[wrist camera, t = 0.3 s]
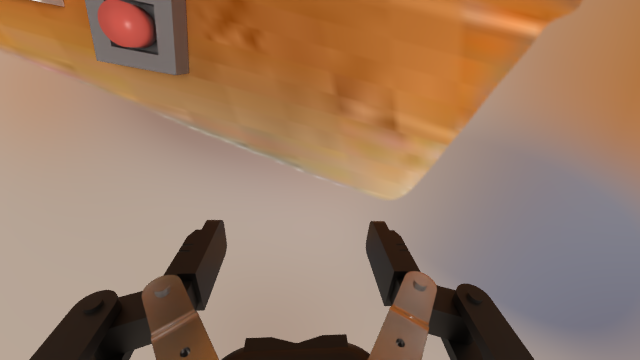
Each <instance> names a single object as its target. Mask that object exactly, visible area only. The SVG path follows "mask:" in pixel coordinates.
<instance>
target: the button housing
mask: <svg viewBox="0 0 640 360" xmlns="http://www.w3.org/2000/svg"><path fill="white" fill-rule="evenodd" d="M104 1H106V0H85V3H86V8H87V13H88V18H89V23H90V28H91V33H92V38H93V43H94V48H95V53H96V58H97V61H102V62H107V63H113V64H118V65H124V66H129V67H135V68H140V69H145V70H151V71H156V72H162V73H167V74H173V75H181V74H187V73H189V62H188V40H187V19H186V0H120V1H123V2H127V3H130V4H133V5H136V6H139V7H141V8H143V9H144V10H145V11H146V12H148V13H149V15H150V16H151V17H152V19H153V20H154V22H155V25H156V34H157V38H156V40H155V42H154V43H153V45H151V46H150V47H147V48H135V47H123V46H120V45H118V44H116V43H114V42H113V41H111V40H110V39H109V38H108V37H107V36H106V35H105V34H104V32H103V31H102V29H101V27H100V25H99V21H98V9H99V7H100V5H101V4H102V3H103V2H104Z"/></svg>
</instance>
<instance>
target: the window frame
mask: <svg viewBox="0 0 640 360" xmlns="http://www.w3.org/2000/svg"><path fill="white" fill-rule="evenodd" d="M34 1H38V2H43V3H48V4H53V5H58V6H62V7H65V6H64V2H63V0H34Z"/></svg>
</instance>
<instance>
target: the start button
mask: <svg viewBox="0 0 640 360" xmlns="http://www.w3.org/2000/svg"><path fill="white" fill-rule="evenodd" d="M98 21H99V25H100V27H101V29H102V31H103V32H104V34H105V35H106V36H107V37H108V38H109V39H110V40H111V41H113V42H114V43H116V44H118V45H120V46H123V47H135V48H147V47H150V46H151V45H153V43H154V42H155V40H156V38H157V34H156V25H155V22H154V20H153V19H152V17H151V16H150V15H149V13H148V12H146V11H145V10H144V9H143V8H141V7H139V6H136V5H133V4H130V3H127V2H123V1H120V0H106V1H104V2H103V3H102V4H101V5H100V7H99V9H98Z"/></svg>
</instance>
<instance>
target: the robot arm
mask: <svg viewBox="0 0 640 360" xmlns="http://www.w3.org/2000/svg"><path fill="white" fill-rule="evenodd" d="M226 248H227V242H226V235H225V228H224V222H223V221H222V220H207V221H206V223H205V225H204V226H203V228H202V230H195V231H194V232H193V233H191V234H190V235H189V236H188V237H187V238H186V240H185V242H184V243H183V246H181V248H180V250H179V252H178V253H177V255H176V256H175V258H174V259H173V261H172V262H171V264H170V266H169V267H168V269H167V271H166V272H165V274H164V276H161V277H159V278H157V279H155V280H153V281H152V282H150V283H149V284H148V285H147V286H146V287H145V288H144V290H143V291H141V292H137V293H134V294H130V295H126V296H122V297H118V296H117V294H116V293H115V292H114V291H111V290H103V291H99V292H95V293H93V294H90V295H89V296H86V297H85V298H83V299H82V300H80V301H79V302H78V303H77V304H76V305H75V306H74V307H73V308H72V309H71V310H70V311H69V313H68V314H67V315H66V316H65V318H64V319H63V320H62V321H61V322H60V323H59V325H58V326H57V327H56V328H55V329H54V331H53V332H52V333H51V334H50V335H49V337H48V338H47V339H46V340H45V341H44V343H43V344H42V345H41V346H40V348H39V349H38V350H37V351H36V352H35V354H34V355H33V356H32V357H31V358H30V360H129V359H130V357H131V355H132V353H133V351H134V350H135V349H137V348H140V347H143V346H146V345H149V344H152V345H153V349H154V353H155V357H156V360H219V359H218V356H217V354H216V352H215V350H214V347H213V345H212V343H211V341H210V339H209V337H208V334H207V332H206V330H205V328H204V326H203V323H202V321H201V319H200V317H199V315H198V313H197V310H205V307H206V305H207V302H208V299H209V297H210V294H211V291H212V289H213V286H214V283H215V281H216V278H217V275H218V273H219V270H220V267H221V265H222V262H223V259H224V257H225V254H226ZM366 252H367V256H368V259H369V261H370V264H371V268H372V271H373V274H374V276H375V279H376V282H377V285H378V288H379V291H380V294H381V297H382V300H383V303H384V306H391V307H390V309H389V312H388V314H387V316H386V319H385V321H384V323H383V326H382V328H381V331H380V333H379V335H378V337H377V340H376V342H375V344H374V347H373V349H372V351H371V354H369V353H368V352H366V351H364V350H363V349H362V348H360V347H358V346H356V345H353V344H350V343H348V342H347V336H346V335H322V336H319V337H316V338H313V339H310V340H306V341H303V342H300V343H293V342H288V341H284V340H280V339H276V338H272V337H267V338H246V341H245V347H243V348H240V349H238V350H236V351H234V352H232V353H230V354H229V355H227V356H226V357H224V358H223V359H222V360H422V356H423V351H424V347H425V343H426V339H427V335H428V334H431V335H435V336H438V337H441V339H442V341H443V343H444V346H445V348H446V350H447V353H448V355H449V357H450V360H534V358H533V357H532V356H531V354H530V353H529V351H528V350H527V349H526V347H525V346H524V345H523V343H522V342H521V340H520V339H519V337H518V336H517V335H516V333H515V332H514V331H513V329H512V328H511V326H510V325H509V323H508V322H507V321H506V319H505V318H504V316H503V315H502V314H501V312H500V311H499V309H498V308H497V307H496V305H495V304H494V303H493V301H492V300H491V298H490V297H489V296H488V295H487V294H486V293H485V292H484V291H483V290H481V289H480V288H478V287H476V286H474V285H471V284H461V285H459V286H458V287H457V289H456V290H452V289H448V288H444V287H440V286H437V285H436V284H435V282H434V281H433V280H432V279H431V278H430V277H429V276H427V275H426V274H424V273H421V272H420V270H419V268H418V266H417V265H416V263H415V261H414V259H413V257H412V256H411V254H410V252H409V251H408V248H407V247H406V245H405V243H404V241H403V239H402V238H401V236H399V234H397V233H396V232H395V231H394V230H389V229H388V227H387V225H386V223H385V222H384V221H371V222H370V225H369V230H368V235H367V240H366Z"/></svg>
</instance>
